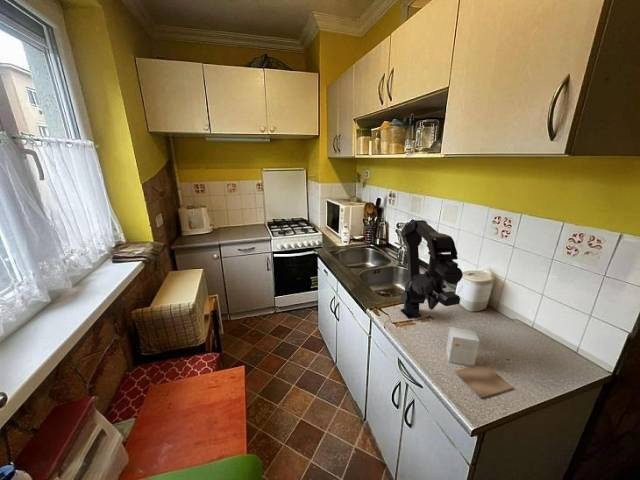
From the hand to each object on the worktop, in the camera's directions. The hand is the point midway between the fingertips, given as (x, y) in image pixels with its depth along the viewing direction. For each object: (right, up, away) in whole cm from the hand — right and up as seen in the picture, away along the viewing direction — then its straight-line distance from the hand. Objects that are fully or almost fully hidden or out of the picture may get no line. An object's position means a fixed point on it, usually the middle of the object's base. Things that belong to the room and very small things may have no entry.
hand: (431, 309), depth 95 cm
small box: (+7, -16, -6) cm, 18 cm away
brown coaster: (+10, -18, -15) cm, 25 cm away
